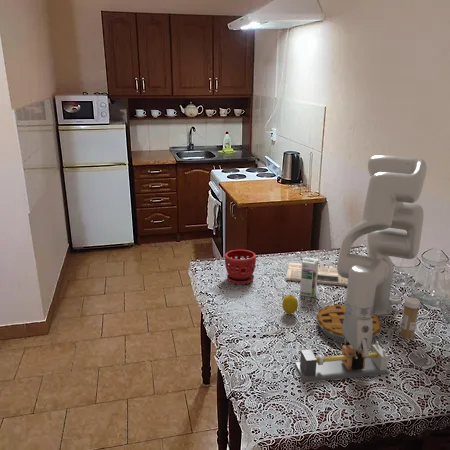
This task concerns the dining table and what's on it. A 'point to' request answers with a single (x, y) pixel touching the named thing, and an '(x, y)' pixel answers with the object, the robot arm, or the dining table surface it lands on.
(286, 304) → the lemon
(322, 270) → the newspaper
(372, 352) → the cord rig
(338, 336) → the pie
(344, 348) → the sleeve
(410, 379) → the dining table surface
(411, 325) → the sprinkles bottle
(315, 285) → the syrup box
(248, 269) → the plant pot
